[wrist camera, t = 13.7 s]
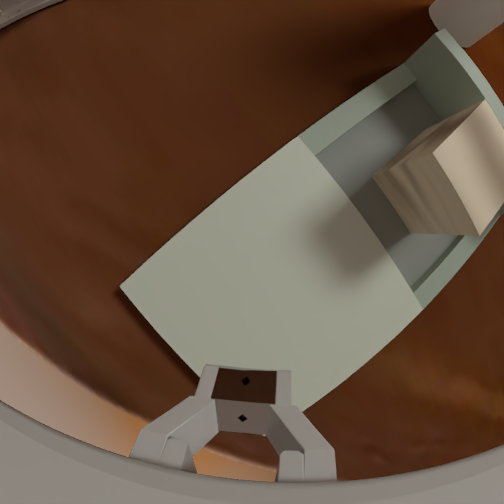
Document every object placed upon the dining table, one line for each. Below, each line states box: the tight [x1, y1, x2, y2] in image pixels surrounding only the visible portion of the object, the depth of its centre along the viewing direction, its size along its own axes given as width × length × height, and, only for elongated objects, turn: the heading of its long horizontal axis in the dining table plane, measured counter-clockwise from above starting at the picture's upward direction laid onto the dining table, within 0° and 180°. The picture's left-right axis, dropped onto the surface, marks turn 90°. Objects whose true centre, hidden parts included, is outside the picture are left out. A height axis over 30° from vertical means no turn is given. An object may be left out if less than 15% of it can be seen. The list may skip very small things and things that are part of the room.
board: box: [120, 28, 504, 436], centre depth 20 cm, size 34×18×8 cm, turn 129°
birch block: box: [372, 99, 504, 236], centre depth 19 cm, size 8×6×9 cm
